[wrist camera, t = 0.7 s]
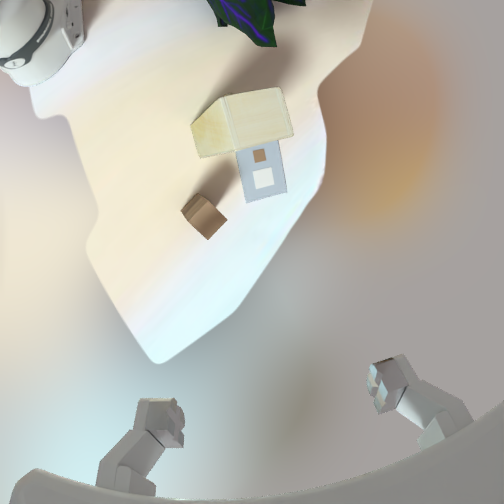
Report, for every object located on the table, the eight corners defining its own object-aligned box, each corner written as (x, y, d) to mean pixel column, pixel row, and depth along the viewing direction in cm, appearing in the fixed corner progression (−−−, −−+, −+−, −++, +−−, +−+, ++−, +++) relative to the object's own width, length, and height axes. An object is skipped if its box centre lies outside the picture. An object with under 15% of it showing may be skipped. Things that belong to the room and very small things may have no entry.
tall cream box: (229, 110, 47) (280, 80, 28) (240, 146, 50) (295, 137, 31) (188, 121, 45) (215, 92, 26) (199, 158, 48) (233, 153, 29)
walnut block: (180, 210, 50) (188, 221, 42) (197, 193, 50) (208, 200, 42) (197, 226, 52) (207, 240, 44) (214, 209, 52) (227, 219, 45)
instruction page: (233, 142, 49) (234, 142, 49) (276, 134, 52) (276, 134, 52) (246, 203, 54) (246, 203, 54) (286, 191, 57) (287, 191, 56)
